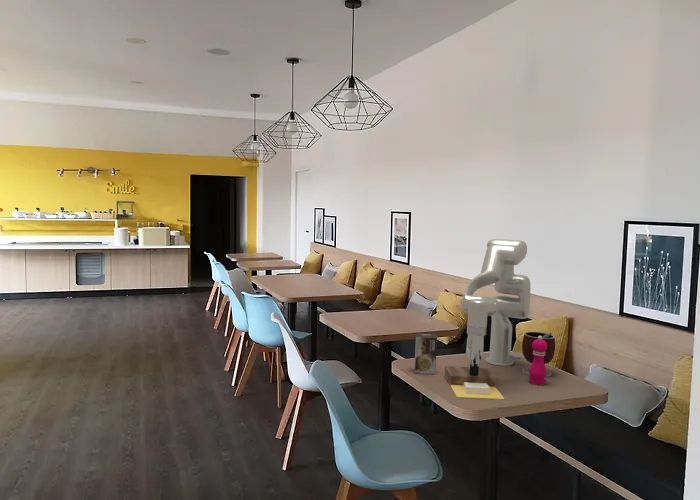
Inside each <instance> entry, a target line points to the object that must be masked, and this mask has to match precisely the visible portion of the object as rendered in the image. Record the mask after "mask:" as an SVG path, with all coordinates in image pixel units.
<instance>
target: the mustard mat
mask: <svg viewBox="0 0 700 500" xmlns="http://www.w3.org/2000/svg"><path fill="white" fill-rule="evenodd" d="M449 387H450V389H452V392H453V393H454V395H455V397H456V398H457V399H458V398H459V399H475V400H476V399H479V400H480V399H481V400H501V401H502V400H506V399H505V397H504V395H502V393H501V392H500V391H499V389H498V388H497V387H496V386H495V387H491V386H489V387H490V395H485V394H466V392H465V390H464V389H463V388H464V385H450V384H449Z"/></svg>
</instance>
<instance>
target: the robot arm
mask: <svg viewBox="0 0 700 500" xmlns="http://www.w3.org/2000/svg"><path fill="white" fill-rule="evenodd" d="M527 253H528V246H527V243H526V242H525V241H524V240H517V239H516V240H514V239H505V238H503V239H502V238H494V239H493V238H492V239H489V240H488V241H487V244H486V250H485V255H484V258H483V262H482V267H481V269H480V273H479V274H478V275H476V276H475V277H474V278H472V279H471V280H470V281H469V282H468V283H467V285H466V286H465V289H464V293H463V297H462V301H461V309H462V311H464V313H466V314H467V324H466V326H467V327H466V334H467V341H466V348H465V355H466V357H468V359H469V367H470V373H469V374H470V375H471V376H478V372H479V368H480V361H482V360H483V358H484V344H485V343H484V342H485V341H484V339H485V336H487V325H488V317H491V325H490V327H491V328H490V344H489V356H487V357H486V358H485V362H486V363H488V364H490V365H495V366H501V367H507V366H508V367H509V366H513V365H514V361H515V360H516V361H521V360H522V356H521V355H517V354H513V353H512V352H511V351H512V341H513V340H512V337H513V325H512V322H511V321H510V319H509V318H512V319H513V318H514V319H519V320H520V319H521V320H522V319H524V320H525V319H527V318H528V317H529V315H530V309H531V307H530V306H531V281H530V278H529V277H528V276H527V275H524V274H515V270H514V269H515V266H518V265H519V264H520V263H521V262H523V261H524V259H525V258H526V256H527ZM493 284H494V290H495V292H497V293H498V294H503V295H495V296H494V297H489V296H482V295H475V292H476V291H477V290H478V289H481V288H483V287H486V286H490V285H493ZM507 295H511V296H507ZM514 296H515V297H514ZM516 296H517V297H516Z"/></svg>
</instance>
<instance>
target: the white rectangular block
mask: <svg viewBox="0 0 700 500" xmlns="http://www.w3.org/2000/svg"><path fill="white" fill-rule="evenodd" d="M463 389H464V390H465V392H466V394H485V395H490V387H489V386H488V385H487V383H467V382H464V388H463Z"/></svg>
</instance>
